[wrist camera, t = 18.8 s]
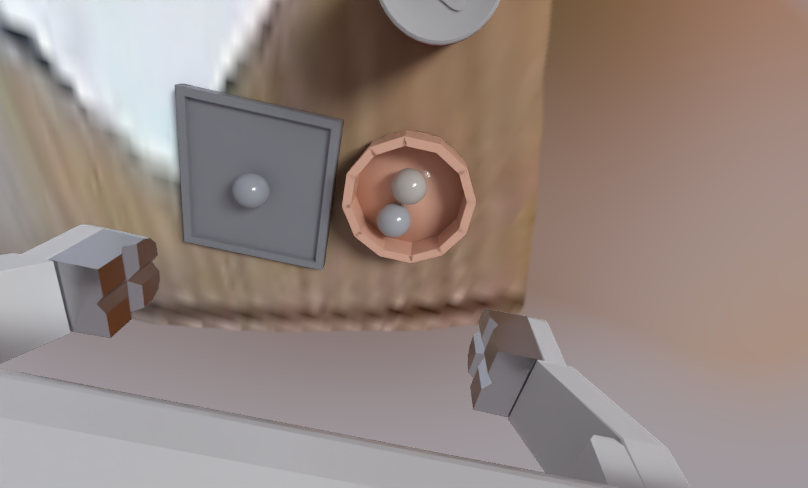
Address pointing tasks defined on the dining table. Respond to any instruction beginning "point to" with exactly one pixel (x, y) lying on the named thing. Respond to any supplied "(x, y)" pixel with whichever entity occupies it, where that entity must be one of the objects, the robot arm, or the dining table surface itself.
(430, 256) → the bowl
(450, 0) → the canned food
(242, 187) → the pebble
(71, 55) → the dining table surface
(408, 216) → the pebble
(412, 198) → the pebble
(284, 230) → the tray
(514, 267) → the dining table surface
